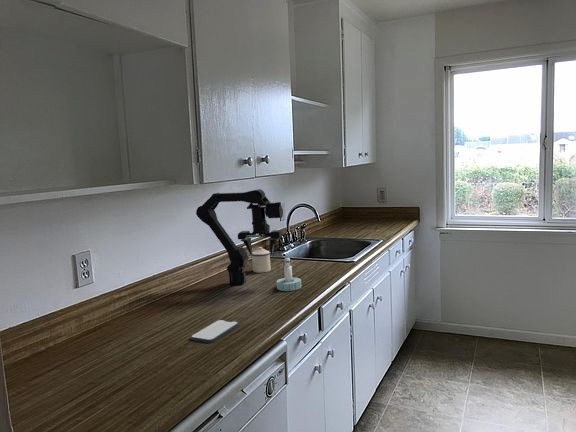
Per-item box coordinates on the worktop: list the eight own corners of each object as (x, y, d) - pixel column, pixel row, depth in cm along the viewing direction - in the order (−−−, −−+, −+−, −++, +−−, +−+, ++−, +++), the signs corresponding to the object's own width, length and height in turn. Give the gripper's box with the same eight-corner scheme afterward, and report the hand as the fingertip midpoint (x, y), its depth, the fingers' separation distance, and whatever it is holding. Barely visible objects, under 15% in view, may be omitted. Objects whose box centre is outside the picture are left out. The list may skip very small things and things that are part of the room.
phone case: (211, 345, 144) (240, 326, 158) (211, 340, 143) (240, 321, 157) (188, 342, 148) (219, 323, 162) (188, 337, 148) (218, 319, 161)
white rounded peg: (283, 287, 200) (281, 258, 198) (289, 286, 202) (287, 257, 200) (288, 289, 197) (286, 259, 196) (294, 287, 199) (292, 258, 198)
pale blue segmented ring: (274, 290, 196) (274, 283, 195) (280, 284, 205) (280, 277, 205) (298, 291, 193) (297, 283, 193) (303, 284, 203) (302, 277, 203)
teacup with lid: (273, 268, 235) (271, 245, 234) (267, 273, 227) (266, 249, 225) (250, 268, 239) (249, 245, 237) (244, 272, 230) (242, 249, 228)
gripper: (284, 215, 210) (286, 250, 212) (244, 216, 215) (246, 250, 217) (278, 219, 199) (280, 255, 201) (235, 220, 204) (238, 256, 206)
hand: (261, 254), depth 207 cm, fingers open, 9 cm apart
